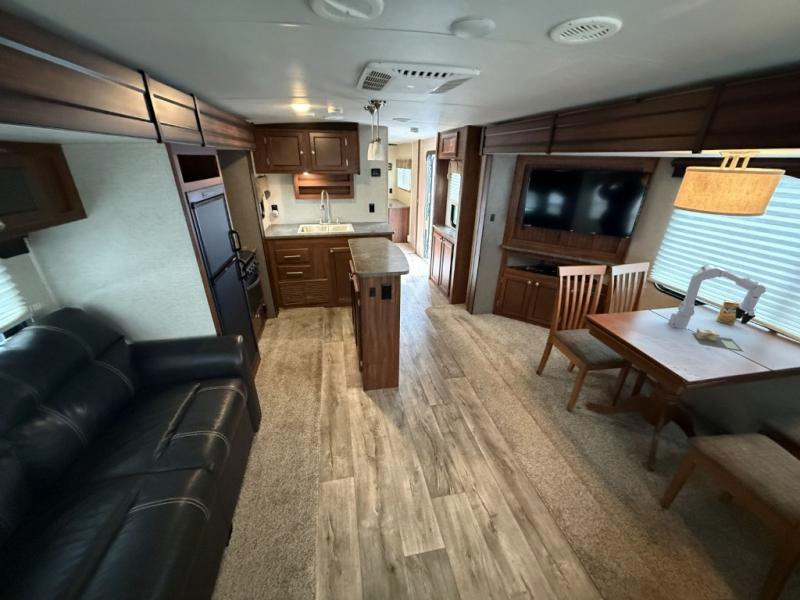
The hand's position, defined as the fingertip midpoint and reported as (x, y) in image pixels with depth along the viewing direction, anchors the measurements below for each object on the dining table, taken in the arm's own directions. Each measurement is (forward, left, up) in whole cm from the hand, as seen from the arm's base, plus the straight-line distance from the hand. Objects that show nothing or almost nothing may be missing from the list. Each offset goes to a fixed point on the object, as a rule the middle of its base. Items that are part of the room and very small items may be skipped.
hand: (740, 321), depth 195 cm
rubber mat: (-14, -16, -10) cm, 24 cm away
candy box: (+2, +20, -10) cm, 23 cm away
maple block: (-18, -13, -10) cm, 24 cm away
